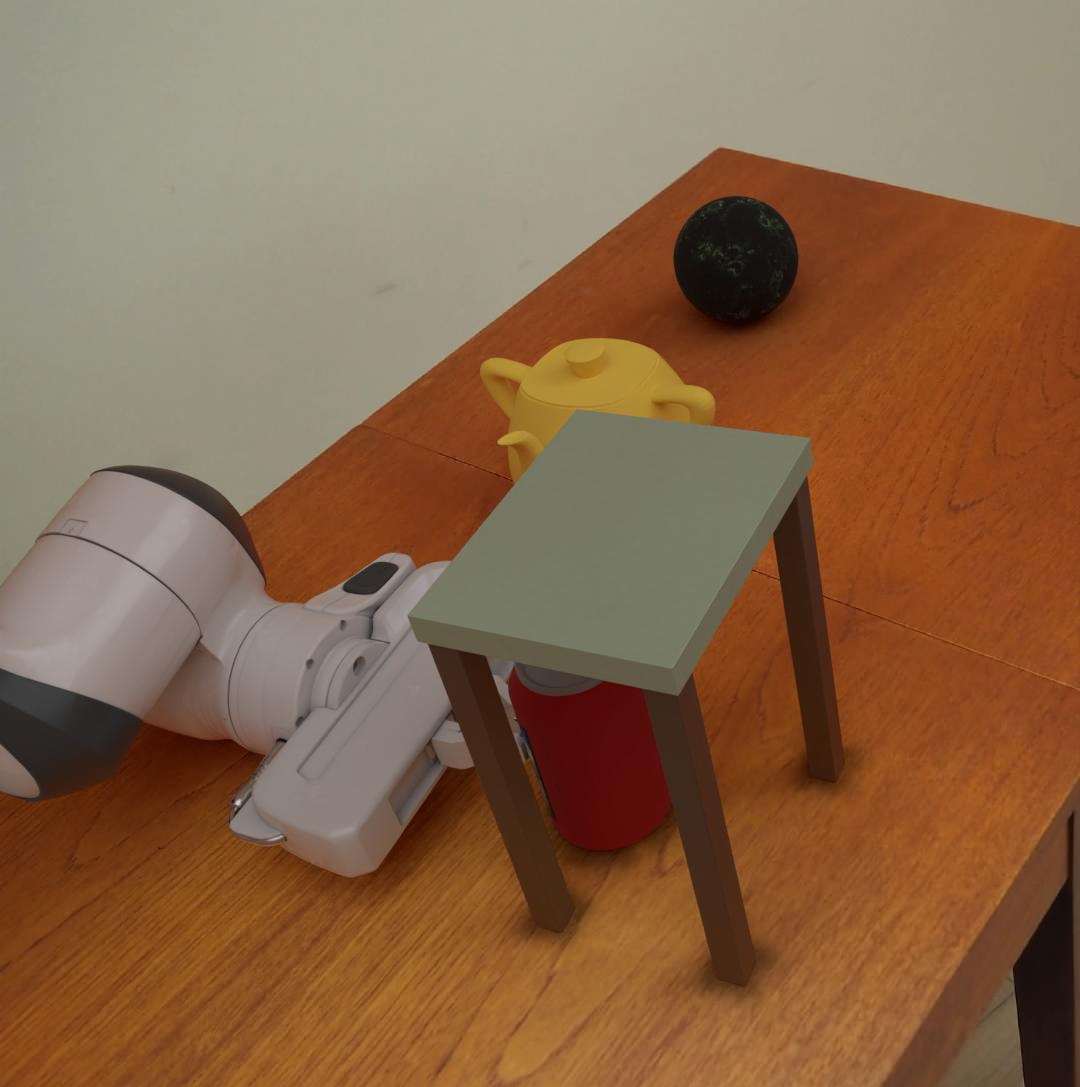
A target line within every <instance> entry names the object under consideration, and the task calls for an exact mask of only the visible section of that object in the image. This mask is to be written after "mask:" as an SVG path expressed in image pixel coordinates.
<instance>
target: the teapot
mask: <svg viewBox="0 0 1080 1087" xmlns="http://www.w3.org/2000/svg"><path fill="white" fill-rule="evenodd" d="M479 375H480V378H481V381H482V383H483V386H484V387H485V389H486V391H487V393H488V394H489V396H490V397H491V398H492V400H493V401H494V403H495V404H496V405H497V406H498V408H499V409H500V411H501V412H503V413H504V415H505V416H506V417H507V419H509V424H508V430H507V433H506V434H505V435H503V436H502V437H500V438H499V439H498V440H497V442H496V443H497V445H499V446H503V447H507V459H508V468H509V472H510V476H511V480H512V482H513V486H514V485H515V483H516V482H517V481H518V480H519V479H520V477H521V476H522V475H523V474H524V472H525V471H526V470H527V469H528V468H529V466H530V465H531V464H532V463H533V461H534V460H535V459H536V458H537V457H538V455H539V454H540V453H541V452H542V450H543V449H544V448H545V447H546V446H547V444H548V443H549V442H550V441H551V440H552V438H553V437H554V436H555V435H556V433H557V432H558V431H559V430H560V429H561V427H562V426H563V425H564V424H565V422H566V421H567V420H568V419H569V418H570V416H571V415H572V414H573V413H574V412H575V410H576V409H580V410H588V411H596V412H604V413H612V414H620V415H628V416H636V417H644V418H653V419H661V420H669V421H677V422H685V423H693V424H701V425H709V426H713V422H714V419H715V415H716V400H715V398H714V396H713V394H712V393H711V392H710V391H709V390H707V389H706V388H704V387H701V386H698V385H693V384H685V383H684V382H683V380H682V379H681V377H680V376H679V375H678V374H677V372H675V370H674V369H673V368H672V367H671V366H670V364H669V363H668V362H667V361H666V360H665V359H664V358H663V357H662V356H661V355H660V354H659V353H658V352H656V351H655V350H654V349H653V348H650V347H648V346H646V345H644V344H641V343H638V342H633V341H630V340H625V339H619V338H605V337H592V338H591V337H590V338H579V339H573V340H570V341H569V340H568V341H566V342H563V343H560V344H558V345H556V346H554V348H552V349H550V350H549V351H547V353H546V354H545V355H543V356H542V357H541V358H540V359H539V360H538V361H537V362H536V363H535V364H534V365H533V366H530V365H528V364H525V363H521V362H519V361H515V360H511V359H508V358H503V357H491V358H488V359H486V360H484V361H483V362H482V364H481V365H480V368H479ZM510 381H512V382H514V383H516V384H519V386H518V390H517V392H516V391H515V389H514V387H513V386H512V384H511V382H510Z"/></svg>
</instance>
